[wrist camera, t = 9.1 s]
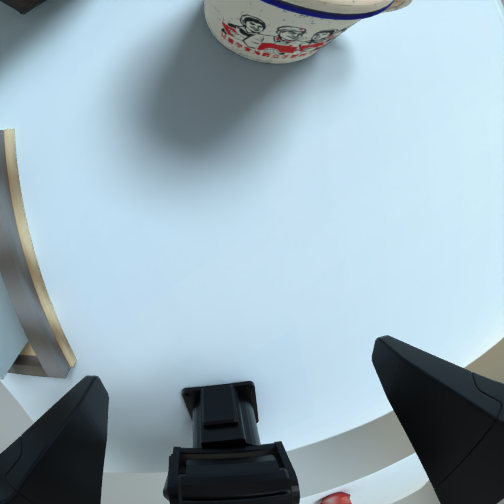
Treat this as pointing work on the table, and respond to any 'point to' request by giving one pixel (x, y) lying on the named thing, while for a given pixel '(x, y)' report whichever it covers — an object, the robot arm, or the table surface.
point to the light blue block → (9, 332)
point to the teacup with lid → (286, 24)
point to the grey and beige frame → (27, 279)
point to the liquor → (337, 498)
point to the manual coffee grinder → (23, 4)
